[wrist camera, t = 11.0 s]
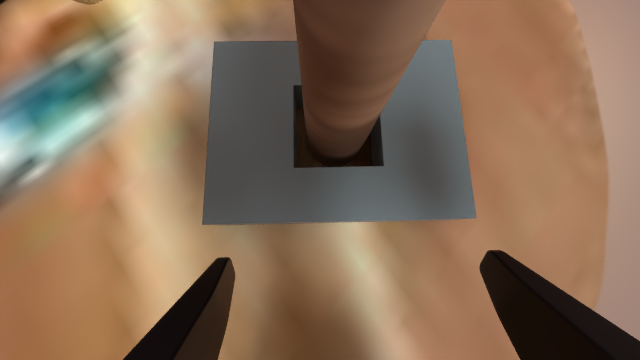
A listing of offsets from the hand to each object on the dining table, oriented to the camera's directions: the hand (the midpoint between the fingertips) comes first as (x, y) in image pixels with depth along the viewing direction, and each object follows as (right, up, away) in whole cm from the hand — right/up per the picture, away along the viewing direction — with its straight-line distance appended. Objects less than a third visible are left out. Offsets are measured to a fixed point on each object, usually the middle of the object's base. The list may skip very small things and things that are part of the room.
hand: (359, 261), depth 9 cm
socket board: (0, +6, +10) cm, 11 cm away
